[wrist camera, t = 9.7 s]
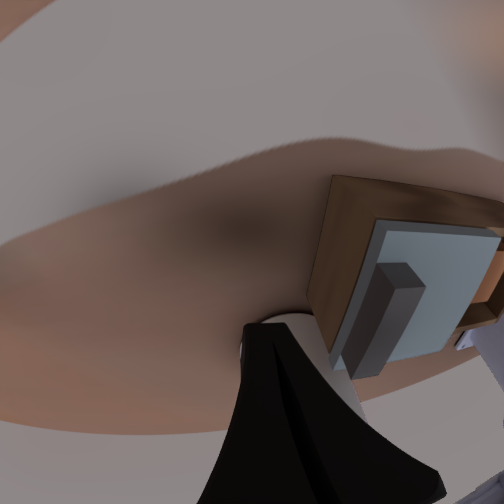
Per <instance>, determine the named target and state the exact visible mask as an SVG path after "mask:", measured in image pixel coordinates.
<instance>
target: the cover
mask: <svg viewBox="0 0 504 504" xmlns="http://www.w3.org/2000/svg"><path fill="white" fill-rule="evenodd" d="M500 241H501V237H500V236H499V235H497V234H496V233H495V232H494V231H493V230H490V229H481V228H471V227H461V226H450V225H439V224H427V223H414V222H401V221H387V220H377V221H376V224H375V228H374V231H373V235H372V238H371V241H370V245H369V248H368V251H367V254H366V258H365V261H364V264H363V267H362V270H361V273H360V276H359V279H358V282H357V285H356V288H355V290H354V293H353V296H352V299H351V302H350V304H349V307H348V310H347V313H346V315H345V318H344V321H343V323H342V326H341V328H340V331H339V333H338V336H337V339H336V341H335V344H334V346H333V348H332V351H331V353H330V356H329V358H328V359H329V361H330V364H331V367H332V370H333V371H335V370H342V369H347V371H348V374H349V377H350V379H351V380H354V379H360V378H366V377H371V376H377V375H379V373H380V372H381V370H382V369H383V367H384V365H385V364H386V362H392V361H397V360H402V359H407V358H412V357H416V356H421V355H425V354H430V353H434V352H438V351H441V350H442V348H443V347H444V345H445V344H446V342H447V341H448V339H449V338H450V336H451V334H452V333H453V331H454V330H455V328H456V326H457V325H458V323H459V322H460V320H461V318H462V316H463V315H464V313H465V311H466V310H467V308H468V306H469V304H470V302H471V301H472V299H473V297H474V295H475V293H476V291H477V290H478V288H479V286H480V284H481V282H482V280H483V278H484V276H485V274H486V272H487V270H488V268H489V265H490V263H491V261H492V259H493V257H494V255H495V252H496V250H497V248H498V245H499V243H500Z"/></svg>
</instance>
